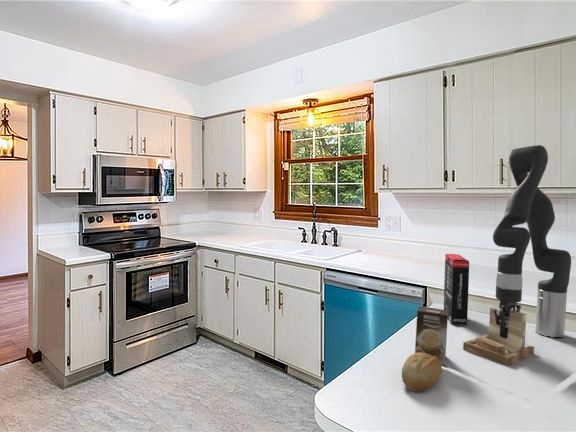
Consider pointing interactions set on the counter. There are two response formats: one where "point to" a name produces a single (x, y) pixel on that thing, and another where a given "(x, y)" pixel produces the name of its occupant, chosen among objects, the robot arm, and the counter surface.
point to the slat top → (490, 345)
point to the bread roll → (421, 371)
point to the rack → (497, 356)
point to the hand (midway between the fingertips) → (506, 336)
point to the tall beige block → (509, 331)
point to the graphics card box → (456, 288)
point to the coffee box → (431, 332)
